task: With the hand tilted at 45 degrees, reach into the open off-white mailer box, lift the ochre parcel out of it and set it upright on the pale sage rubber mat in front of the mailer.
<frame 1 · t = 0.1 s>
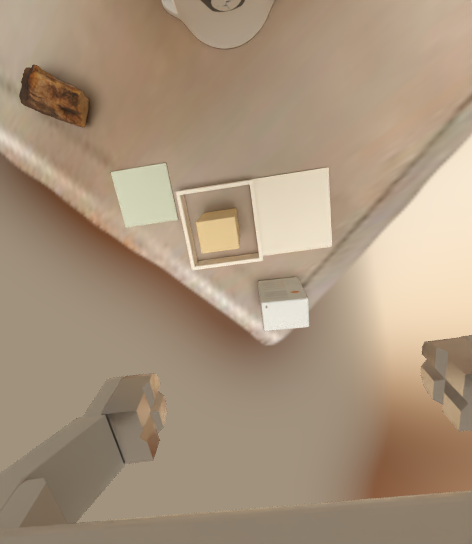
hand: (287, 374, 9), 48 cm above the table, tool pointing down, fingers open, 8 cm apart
mailer box: (222, 223, 56), on the table
sage mat: (145, 196, 55), on the table
parcel: (222, 223, 56), resting in mailer box
small box: (278, 290, 60), on the table
decorative rock: (69, 100, 50), on the table
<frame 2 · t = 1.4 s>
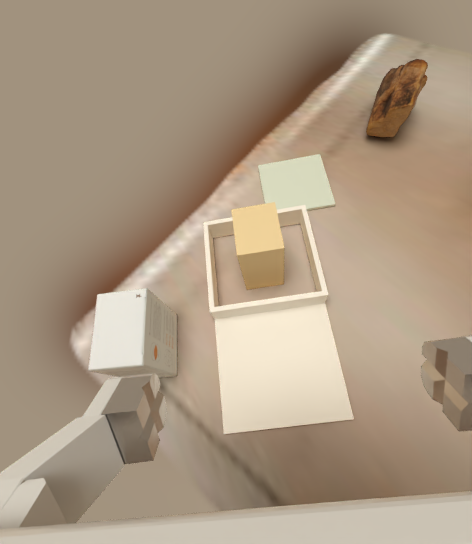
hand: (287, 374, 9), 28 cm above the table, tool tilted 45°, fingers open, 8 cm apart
mailer box: (261, 267, 42), on the table
sage mat: (294, 185, 47), on the table
parcel: (261, 267, 42), resting in mailer box
small box: (158, 347, 39), on the table
decorative rock: (387, 126, 49), on the table
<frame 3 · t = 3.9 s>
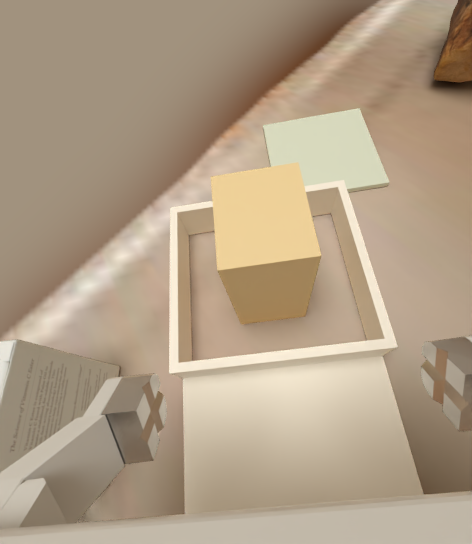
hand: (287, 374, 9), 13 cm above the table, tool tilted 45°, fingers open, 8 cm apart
mailer box: (267, 284, 25), on the table
sage mat: (320, 155, 30), on the table
parcel: (267, 285, 25), resting in mailer box
small box: (82, 425, 22), on the table
decorative rock: (461, 69, 32), on the table
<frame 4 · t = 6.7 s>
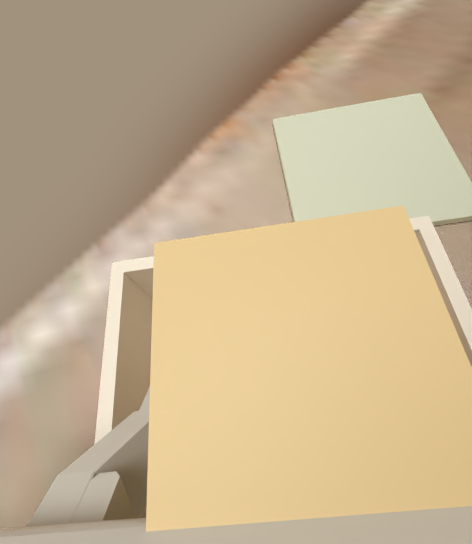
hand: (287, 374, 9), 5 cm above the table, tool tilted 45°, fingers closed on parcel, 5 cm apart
mailer box: (287, 402, 14), on the table
sage mat: (363, 165, 19), on the table
parcel: (286, 402, 14), resting in mailer box, touching gripper
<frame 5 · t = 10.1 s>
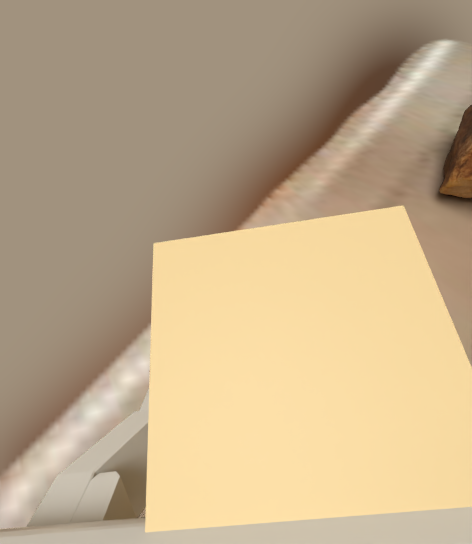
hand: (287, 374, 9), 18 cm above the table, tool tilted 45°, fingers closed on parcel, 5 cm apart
parcel: (286, 402, 14), point 13 cm above the table, touching gripper
decorative rock: (465, 177, 33), on the table
when the fingers open (7 cm above the table, at t = 14.0 s): parcel stays where it is, resting on sage mat.
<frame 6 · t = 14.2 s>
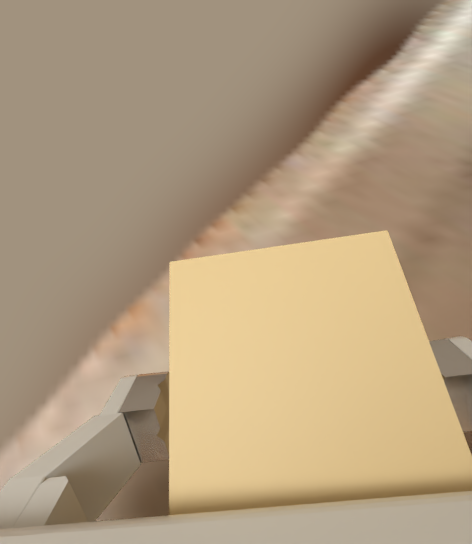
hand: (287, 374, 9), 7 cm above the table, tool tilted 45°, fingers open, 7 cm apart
parcel: (286, 402, 15), resting on sage mat
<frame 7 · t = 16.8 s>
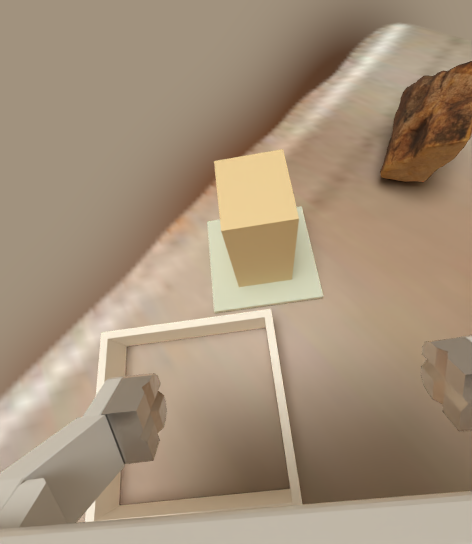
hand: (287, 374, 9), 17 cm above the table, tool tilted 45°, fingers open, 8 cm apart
mailer box: (198, 409, 25), on the table
sage mat: (260, 258, 30), on the table
parcel: (260, 255, 29), resting on sage mat
decorative rock: (409, 161, 33), on the table
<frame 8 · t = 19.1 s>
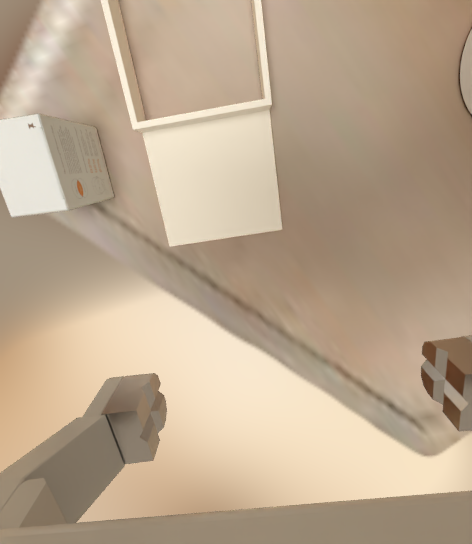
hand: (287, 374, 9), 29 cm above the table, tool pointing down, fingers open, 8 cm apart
mailer box: (193, 52, 31), on the table
small box: (85, 167, 35), on the table
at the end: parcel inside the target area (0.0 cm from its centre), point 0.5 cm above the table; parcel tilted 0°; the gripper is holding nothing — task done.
